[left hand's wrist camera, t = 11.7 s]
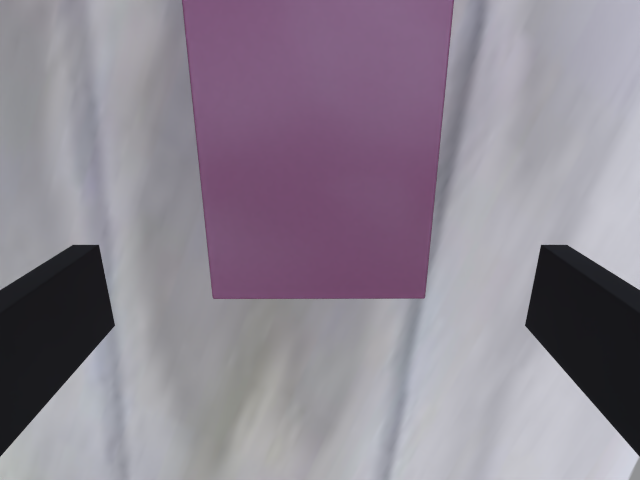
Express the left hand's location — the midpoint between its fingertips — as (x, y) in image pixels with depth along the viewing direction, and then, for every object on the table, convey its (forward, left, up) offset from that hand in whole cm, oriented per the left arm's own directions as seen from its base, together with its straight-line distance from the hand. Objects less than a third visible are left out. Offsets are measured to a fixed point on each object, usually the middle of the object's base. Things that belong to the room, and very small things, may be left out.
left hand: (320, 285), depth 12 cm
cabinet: (0, +6, -18) cm, 19 cm away
